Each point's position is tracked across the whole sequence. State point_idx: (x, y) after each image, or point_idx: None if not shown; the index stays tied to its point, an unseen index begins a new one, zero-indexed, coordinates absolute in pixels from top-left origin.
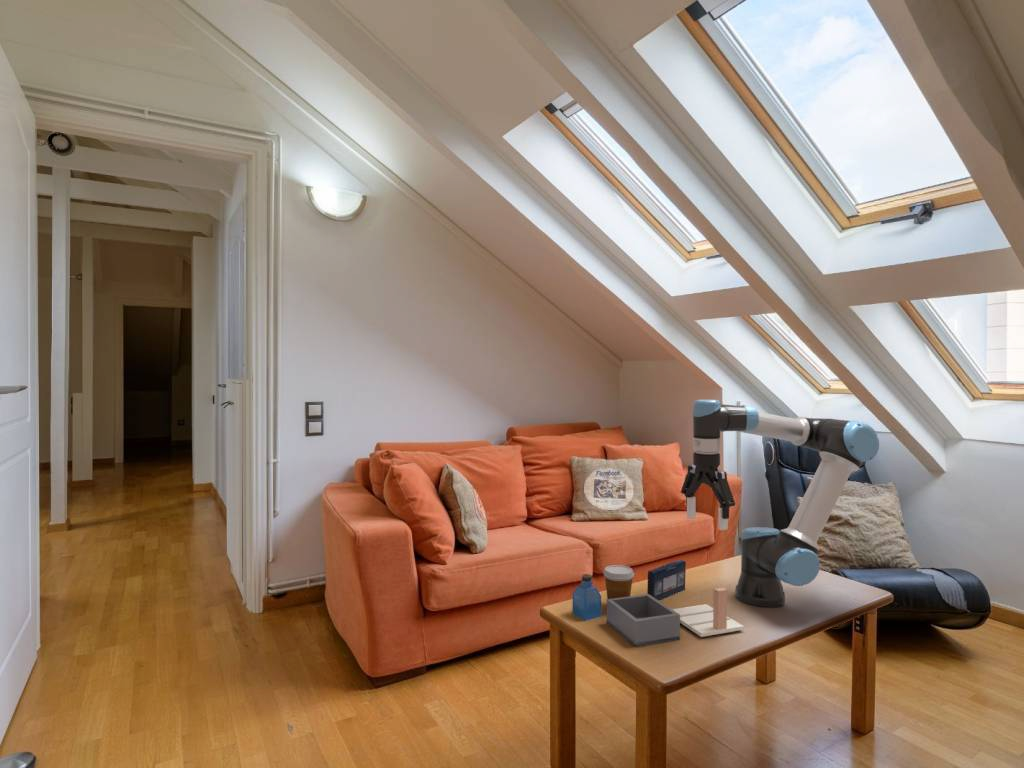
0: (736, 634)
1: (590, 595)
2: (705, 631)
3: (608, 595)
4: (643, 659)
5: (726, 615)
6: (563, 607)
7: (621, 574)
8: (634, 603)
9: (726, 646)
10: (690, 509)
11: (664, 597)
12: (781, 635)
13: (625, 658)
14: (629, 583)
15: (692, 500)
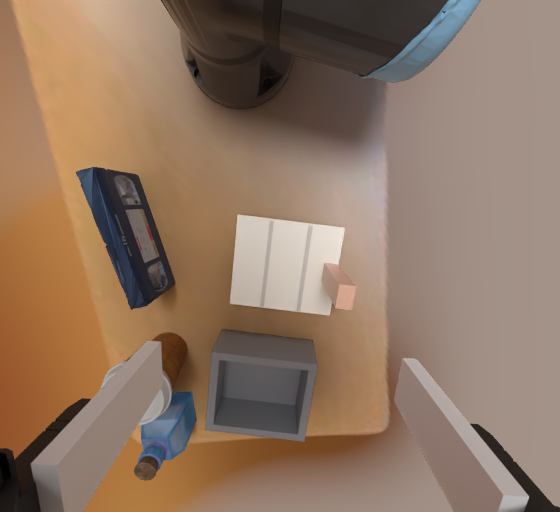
0: (342, 245)
1: (178, 443)
2: (328, 304)
3: None
4: (333, 417)
5: (341, 270)
6: None
7: (162, 410)
8: (219, 376)
9: (363, 293)
10: (132, 417)
11: (162, 249)
12: (384, 174)
13: (319, 434)
14: (171, 375)
15: (85, 466)
